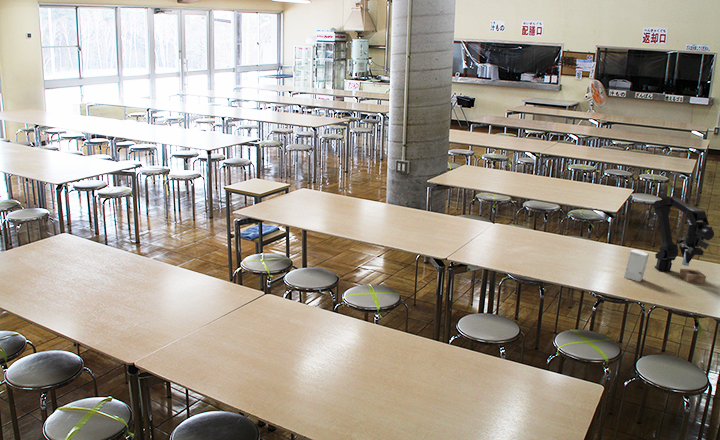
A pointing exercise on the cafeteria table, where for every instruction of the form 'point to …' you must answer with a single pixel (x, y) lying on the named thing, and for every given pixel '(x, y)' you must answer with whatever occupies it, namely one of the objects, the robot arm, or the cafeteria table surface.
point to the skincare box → (636, 265)
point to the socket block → (692, 276)
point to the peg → (685, 260)
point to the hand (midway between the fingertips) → (686, 261)
